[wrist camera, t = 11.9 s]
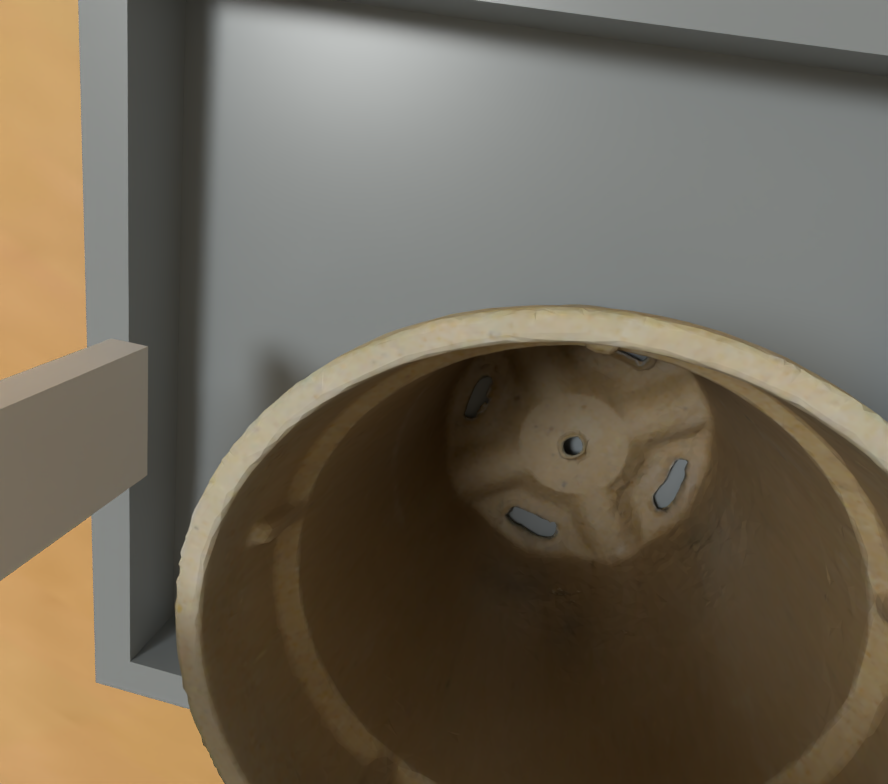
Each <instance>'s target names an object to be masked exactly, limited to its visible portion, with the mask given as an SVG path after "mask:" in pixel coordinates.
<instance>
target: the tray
mask: <svg viewBox="0 0 888 784" xmlns="http://www.w3.org/2000/svg"><path fill="white" fill-rule="evenodd" d="M78 6H79V45H80V84H81V124H82V163H83V202H84V241H85V280H86V319H87V347H90V346H93V345H95V344H98V343H101V342H103V341H106V340H109V339H111V338H112V339H116V340H121V341H126V342H130V343H135V344H140V345H144V346H148V440H147V476H145V477H144V478H143V479H141V480H140V481H138V482H137V483H136V484H134V485H133V486H131V487H130V488H129V489H127V490H126V491H124V492H123V493H122V494H120V495H119V496H118V497H116V498H115V499H113V500H112V501H111V502H109V503H108V504H106V505H105V506H104V507H102V508H101V509H99V510H98V511H97V512H95V513H94V514H92V554H93V593H94V632H95V671H96V683H100V684H103V685H107V686H110V687H114V688H117V689H121V690H124V691H128V692H132V693H135V694H139V695H142V696H146V697H149V698H153V699H156V700H160V701H163V702H167V703H170V704H174V705H177V706H181V707H184V708H188V709H190V708H189V704H188V696H187V694H186V692H185V690H184V689H183V684H182V675H181V670H180V665H179V660H178V654H177V643H176V619H175V603H176V599H177V584H176V580H177V578H178V576H179V574H180V566H179V562H180V559H181V554H180V552H181V549H182V547H183V544H184V542H185V536H186V534H187V532H188V530H189V526H190V523H191V518H192V514H193V512H194V510H195V508H196V506H197V504H198V502H199V500H200V499H201V497H202V495H203V493H204V491H205V489H206V487H207V486H208V484H209V481H210V479H211V477H212V476H213V474H214V473H215V471H216V469H217V468H218V466H219V465H220V463H221V461H222V459H223V458H224V457H225V456H226V455H227V453H228V452H229V451H230V449H231V447H232V446H233V444H234V443H235V442H236V441H237V440H238V439H240V437H241V436H242V435H243V434H244V432H245V431H246V430H247V428H248V427H249V426H250V425H251V424H252V423H253V422H254V421H255V420H256V419H257V418H258V417H259V416H260V415H261V414H262V413H263V411H264V410H265V409H267V408H268V407H269V406H270V405H272V404H273V403H274V402H275V401H276V400H277V399H279V398H280V397H281V396H282V395H283V394H284V393H285V392H287V391H288V390H289V389H290V388H292V387H293V386H294V385H295V384H296V383H298V382H299V381H301V380H303V379H305V378H306V377H308V376H309V375H311V374H312V373H313V372H315V371H317V370H318V369H320V368H321V367H323V366H324V365H326V364H328V363H329V362H331V361H332V360H334V359H336V358H337V357H339V356H341V355H343V354H344V353H346V352H348V351H350V350H352V349H354V348H356V347H358V346H360V345H363V344H365V343H367V342H369V341H371V340H373V339H375V338H377V337H379V336H382V335H384V334H386V333H389V332H392V331H395V330H398V329H401V328H404V327H407V326H411V325H414V324H418V323H421V322H425V321H428V320H432V319H436V318H439V317H443V316H446V315H450V314H455V313H462V312H468V311H474V310H480V309H487V308H499V307H512V306H529V305H569V304H582V305H592V306H600V307H605V308H611V309H621V310H630V311H636V312H642V313H648V314H653V315H659V316H664V317H668V318H672V319H677V320H681V321H685V322H690V323H693V324H697V325H700V326H704V327H708V328H711V329H715V330H718V331H722V332H725V333H727V334H730V335H732V336H735V337H738V338H740V339H743V340H746V341H748V342H751V343H754V344H756V345H759V346H762V347H764V348H766V349H768V350H771V351H773V352H775V353H777V354H780V355H782V356H784V357H786V358H789V359H790V360H792V361H794V362H796V363H797V364H799V365H801V366H803V367H804V368H806V369H808V370H810V371H811V372H814V373H816V374H818V375H819V376H821V377H823V378H824V379H826V380H828V381H829V382H831V383H833V384H834V385H836V386H837V387H839V388H841V389H842V390H844V391H845V392H847V393H848V394H850V395H851V396H853V397H854V398H855V399H857V400H858V401H860V402H861V403H862V404H864V405H865V406H867V407H868V408H869V409H871V410H872V411H874V412H875V413H877V414H878V415H879V416H881V417H882V418H883V419H884V420H885V421H887V422H888V0H78ZM617 351H619V352H623V353H625V354H627V355H629V356H631V357H633V358H636V359H637V360H639V361H642V360H644V359H645V358H647V356H642V355H638V354H634V353H630V352H625V351H620V350H617ZM491 382H492V379H491V378H490V377H486V378H483V379H481V380H480V381H479V382H478V383H477V385H476V386H475V388H474V391H473V393H472V395H471V398H470V400H469V403H468V406H467V410H466V412H465V415H466V416H467V417H470V418H473V417H476V415H477V411H478V410H479V409H480V406H481V405H482V404H483V403H484V402H486V403H488V401H489V400H488V398H487V397H486V393H487V391H488V388H489V385H490V384H491ZM582 448H583V447H582V442H581V440H580V439H579V438H578V437H572V438H568V439H567V440H566V441H565V442H564V450H565V452H566V453H567V454H570V455H576V454H578V453H580V452H581V451H582ZM686 464H687V461H686V460H680V459H679V460H676V461H675V463H674V464H673V466H672V468H671V470H670V472H669V474H668V476H667V478H666V480H665V482H664V483H663V484H662V485H661V486H660V487H659V488H658V490H657V491H656V493H655V494H654V496H653V500H654V504H655V506H656V508H657V509H662V508H665V507H667V506H668V505H669V504H670V503H671V502H672V501H673V500H674V498H675V496H676V494H677V492H678V490H679V488H680V485H681V483H682V481H683V479H684V476H685V471H684V469H685V466H686ZM507 516H508V517H509V518H510V519H511V520H512V521H513V522H515V523H518V524H521V525H522V526H523V527H524V528H526V529H527V530H529V531H530V532H532V533H534V534H535V535H538V536H543V537H551V536H552V535H554V533H555V531H556V524H555V522H549V521H548V520H545V519H541V518H540V517H538V516H536V515H534V514H532V513H530V512H527V511H525V510H523V509H520V508H518V507H513V508H511V509H510V511H509V512H508V513H507Z"/></svg>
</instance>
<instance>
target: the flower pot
mask: <svg viewBox="0 0 888 784" xmlns="http://www.w3.org/2000/svg"><path fill="white" fill-rule="evenodd" d="M617 350H620V351H625V352H630V353H634V354H638V355H642V356H647V358H645V359H644V360H642V361H639V360H637V359H636V358H633V357H631V356H629V355H627V354H625V353H623V352H619V351H617ZM486 377H490V378H491V379H492V382H491V384H490V385H489V388H488V391H487V393H486V397H487V398H488V400H489V401H488V403H486V402H484V403H483V404H482V405H481V406H480V409H479V410H478V411H477V415H476V417H473V418H470V417H467V416H466V415H465V412H466V410H467V406H468V403H469V400H470V398H471V395H472V393H473V391H474V388H475V386H476V385H477V383H478V382H479V381H480V380H481V379H483V378H486ZM572 437H578V438H579V439H580V440H581V442H582V447H583V448H582V451H581V452H580V453H578V454H576V455H570V454H567V453H566V452H565V450H564V442H565V441H566V440H567V439H568V438H572ZM679 459H680V460H686V461H687V464H686V466H685V469H684V471H685V476H684V479H683V481H682V483H681V485H680V488H679V490H678V492H677V494H676V496H675V498H674V500H673V501H672V502H671V503H670V504H669V505H668V506H667V507H665V508H662V509H657V508H656V506H655V504H654V500H653V496H654V494H655V493H656V491H657V490H658V488H659V487H660V486H661V485H662V484H663V483H664V482H665V480H666V478H667V476H668V474H669V472H670V470H671V468H672V466H673V464H674V463H675V461H676V460H679ZM513 507H518V508H520V509H523V510H525V511H527V512H530V513H532V514H534V515H536V516H538V517H540V518H541V519H545V520H548V521H549V522H555V524H556V531H555V533H554V535H552V536H551V537H543V536H538V535H535V534H534V533H532V532H530V531H529V530H527V529H526V528H524V527H523V526H522V525H521V524H518V523H515V522H513V521H512V520H511V519H510V518H509V517H508V516H507V513H508V512H509V511H510V509H511V508H513ZM180 554H181V559H180V562H179V566H180V574H179V576H178V578H177V580H176V584H177V599H176V603H175V619H176V643H177V654H178V660H179V665H180V670H181V675H182V684H183V689H184V690H185V692H186V694H187V696H188V704H189V708H190V711H191V714H192V716H193V719H194V722H195V724H196V726H197V728H198V730H199V733H200V735H201V737H202V742H203V745H204V746H205V747H206V748H207V750H208V752H209V754H210V757H211V758H212V760H213V764H214V766H215V767H216V768H217V771H218V773H219V775H220V777H221V778H222V780H223V781H224V783H225V784H888V422H887V421H885V420H884V419H883V418H882V417H881V416H879V415H878V414H877V413H875V412H874V411H872V410H871V409H869V408H868V407H867V406H865V405H864V404H862V403H861V402H860V401H858V400H857V399H855V398H854V397H853V396H851V395H850V394H848V393H847V392H845V391H844V390H842V389H841V388H839V387H837V386H836V385H834V384H833V383H831V382H829V381H828V380H826V379H824V378H823V377H821V376H819V375H818V374H816V373H814V372H811V371H810V370H808V369H806V368H804V367H803V366H801V365H799V364H797V363H796V362H794V361H792V360H790V359H789V358H786V357H784V356H782V355H780V354H777V353H775V352H773V351H771V350H768V349H766V348H764V347H762V346H759V345H756V344H754V343H751V342H748V341H746V340H743V339H740V338H738V337H735V336H732V335H730V334H727V333H725V332H722V331H718V330H715V329H711V328H708V327H704V326H700V325H697V324H693V323H690V322H685V321H681V320H677V319H672V318H668V317H664V316H659V315H653V314H648V313H642V312H636V311H630V310H621V309H611V308H605V307H600V306H592V305H582V304H569V305H529V306H512V307H499V308H487V309H480V310H474V311H468V312H462V313H455V314H450V315H446V316H443V317H439V318H436V319H432V320H428V321H425V322H421V323H418V324H414V325H411V326H407V327H404V328H401V329H398V330H395V331H392V332H389V333H386V334H384V335H382V336H379V337H377V338H375V339H373V340H371V341H369V342H367V343H365V344H363V345H360V346H358V347H356V348H354V349H352V350H350V351H348V352H346V353H344V354H343V355H341V356H339V357H337V358H336V359H334V360H332V361H331V362H329V363H328V364H326V365H324V366H323V367H321V368H320V369H318V370H317V371H315V372H313V373H312V374H311V375H309V376H308V377H306V378H305V379H303V380H301V381H299V382H298V383H296V384H295V385H294V386H293V387H292V388H290V389H289V390H288V391H287V392H285V393H284V394H283V395H282V396H281V397H280V398H279V399H277V400H276V401H275V402H274V403H273V404H272V405H270V406H269V407H268V408H267V409H265V410H264V411H263V413H262V414H261V415H260V416H259V417H258V418H257V419H256V420H255V421H254V422H253V423H252V424H251V425H250V426H249V427H248V428H247V430H246V431H245V432H244V434H243V435H242V436H241V437H240V439H238V440H237V441H236V442H235V443H234V444H233V446H232V447H231V449H230V451H229V452H228V453H227V455H226V456H225V457H224V458H223V459H222V461H221V463H220V465H219V466H218V468H217V469H216V471H215V473H214V474H213V476H212V477H211V479H210V481H209V484H208V486H207V487H206V489H205V491H204V493H203V495H202V497H201V499H200V500H199V502H198V504H197V506H196V508H195V510H194V512H193V514H192V518H191V523H190V526H189V530H188V532H187V534H186V536H185V542H184V544H183V547H182V549H181V552H180Z"/></svg>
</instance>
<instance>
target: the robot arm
mask: <svg viewBox="0 0 888 784" xmlns="http://www.w3.org/2000/svg"><path fill="white" fill-rule="evenodd" d="M147 440H148V346H144V345H140V344H135V343H130V342H126V341H121V340H116V339H112V338H111V339H109V340H106V341H103V342H101V343H98V344H95V345H93V346H90V347H87V348H85V349H82V350H79V351H77V352H74V353H71V354H69V355H66V356H63V357H61V358H58V359H56V360H53V361H50V362H48V363H45V364H42V365H40V366H37V367H34V368H32V369H29V370H26V371H24V372H21V373H18V374H16V375H13V376H10V377H8V378H5V379H2V380H0V581H1V580H2V579H3V578H5V577H6V576H8V575H9V574H10V573H12V572H13V571H15V570H16V569H17V568H19V567H20V566H22V565H23V564H24V563H26V562H27V561H28V560H30V559H31V558H33V557H34V556H35V555H37V554H38V553H40V552H41V551H42V550H44V549H45V548H47V547H48V546H49V545H51V544H52V543H54V542H55V541H56V540H58V539H59V538H60V537H62V536H63V535H65V534H66V533H67V532H69V531H70V530H72V529H73V528H74V527H76V526H77V525H79V524H80V523H81V522H83V521H84V520H86V519H87V518H88V517H90V516H91V515H92V514H94V513H95V512H97V511H98V510H99V509H101V508H102V507H104V506H105V505H106V504H108V503H109V502H111V501H112V500H113V499H115V498H116V497H118V496H119V495H120V494H122V493H123V492H124V491H126V490H127V489H129V488H130V487H131V486H133V485H134V484H136V483H137V482H138V481H140V480H141V479H143V478H144V477H145V476H147Z"/></svg>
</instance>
